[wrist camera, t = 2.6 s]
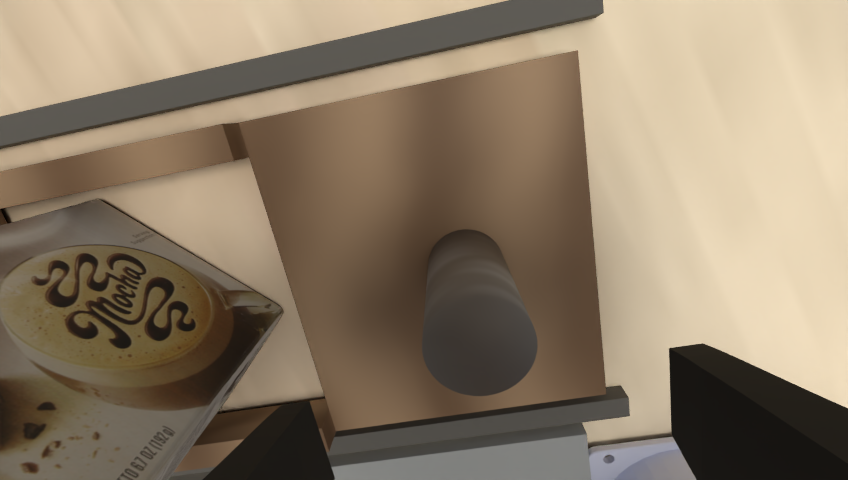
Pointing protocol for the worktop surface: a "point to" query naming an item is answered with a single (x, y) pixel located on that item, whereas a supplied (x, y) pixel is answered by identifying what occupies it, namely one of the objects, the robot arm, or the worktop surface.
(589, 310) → the walnut strip
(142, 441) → the coffee box
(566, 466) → the grey strip
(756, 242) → the worktop surface
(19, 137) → the lane rails
